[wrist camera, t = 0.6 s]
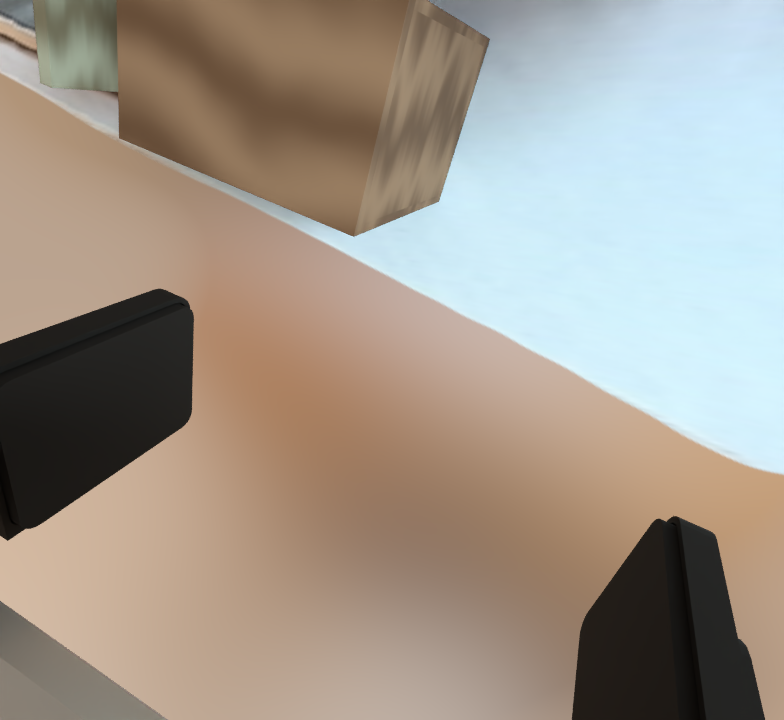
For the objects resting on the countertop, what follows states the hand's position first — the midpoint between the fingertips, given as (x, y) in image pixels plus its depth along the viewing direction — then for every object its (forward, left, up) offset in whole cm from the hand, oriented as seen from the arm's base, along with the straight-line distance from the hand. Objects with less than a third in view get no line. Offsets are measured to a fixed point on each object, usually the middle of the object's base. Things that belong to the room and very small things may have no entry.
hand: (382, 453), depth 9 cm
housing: (-3, -19, -35) cm, 40 cm away
